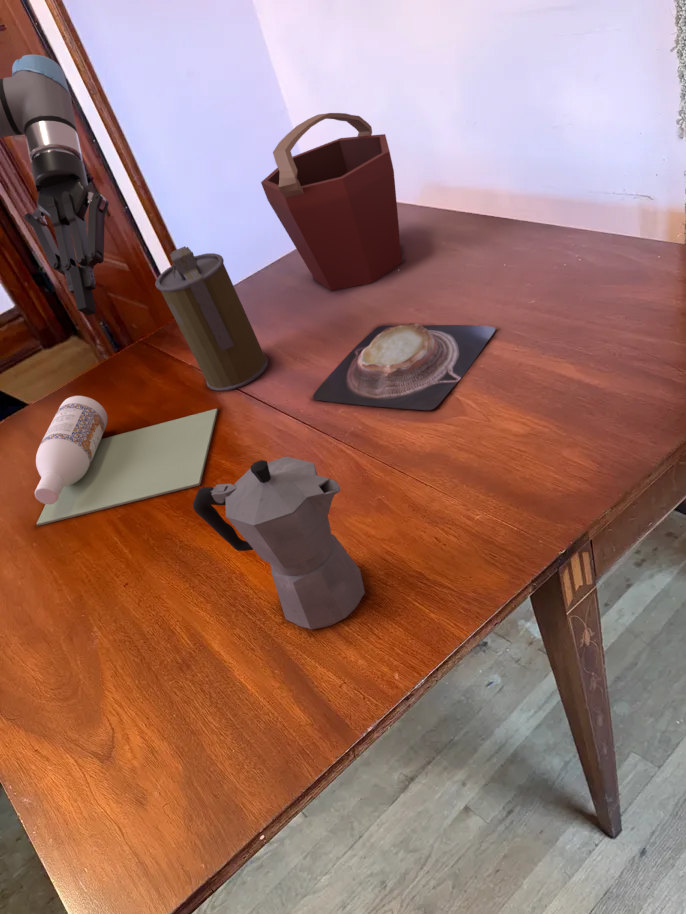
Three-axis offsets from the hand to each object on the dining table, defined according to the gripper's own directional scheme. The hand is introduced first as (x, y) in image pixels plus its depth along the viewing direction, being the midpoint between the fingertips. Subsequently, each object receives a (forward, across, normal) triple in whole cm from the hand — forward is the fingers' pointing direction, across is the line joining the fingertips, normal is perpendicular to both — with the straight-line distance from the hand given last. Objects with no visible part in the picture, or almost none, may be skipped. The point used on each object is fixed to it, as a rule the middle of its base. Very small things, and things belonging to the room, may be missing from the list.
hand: (87, 311), depth 113 cm
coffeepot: (+50, -34, +28) cm, 66 cm away
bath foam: (+15, +4, -2) cm, 15 cm away
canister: (+12, -18, -10) cm, 24 cm away
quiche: (+20, -45, -2) cm, 49 cm away
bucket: (-8, -38, -29) cm, 49 cm away
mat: (+26, -4, +4) cm, 26 cm away
